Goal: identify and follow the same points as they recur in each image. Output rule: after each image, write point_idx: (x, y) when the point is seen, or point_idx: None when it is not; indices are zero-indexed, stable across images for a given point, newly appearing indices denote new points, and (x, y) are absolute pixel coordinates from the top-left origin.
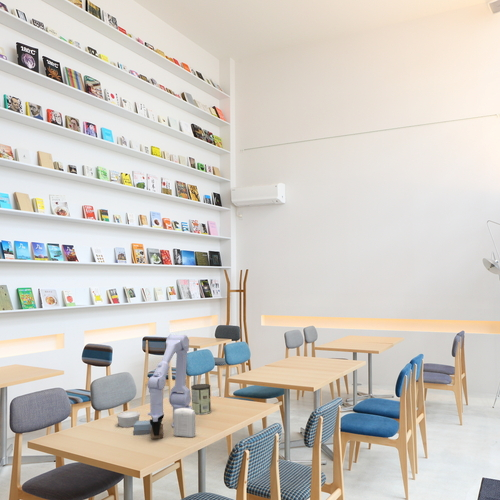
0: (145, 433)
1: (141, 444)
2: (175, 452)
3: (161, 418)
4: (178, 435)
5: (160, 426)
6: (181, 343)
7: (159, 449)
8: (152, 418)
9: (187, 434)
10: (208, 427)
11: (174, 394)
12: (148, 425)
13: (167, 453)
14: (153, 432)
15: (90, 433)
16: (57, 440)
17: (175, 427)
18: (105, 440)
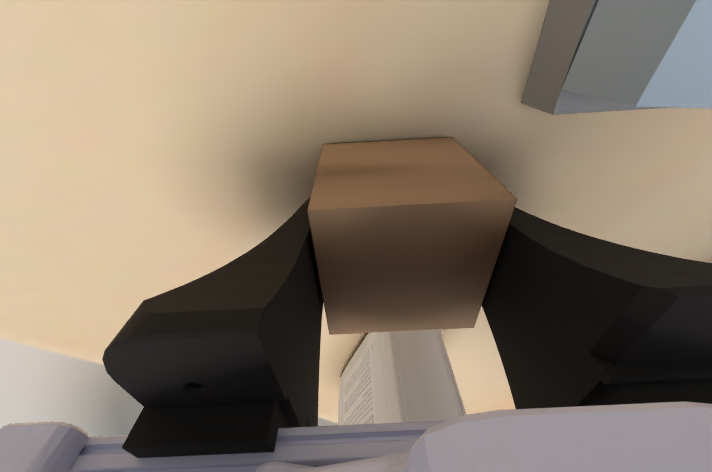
0: (553, 20)
1: (116, 48)
2: (59, 343)
3: (518, 385)
4: (368, 335)
5: (345, 319)
6: None
7: (58, 260)
8: (602, 278)
9: (344, 380)
10: (493, 408)
11: None
12: (625, 91)
13: (11, 312)
14: (296, 211)
15: None
16: None
17: (383, 379)
18: None
